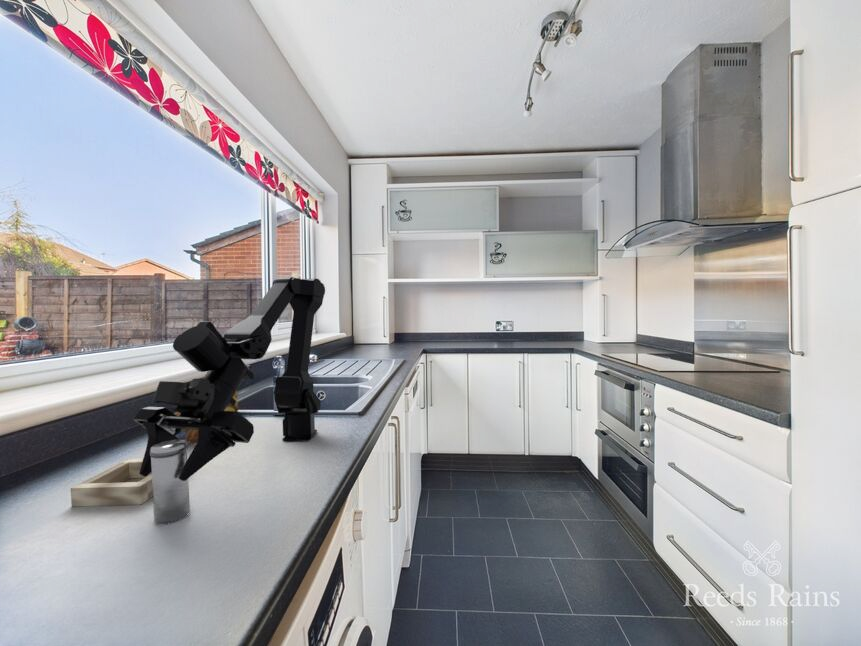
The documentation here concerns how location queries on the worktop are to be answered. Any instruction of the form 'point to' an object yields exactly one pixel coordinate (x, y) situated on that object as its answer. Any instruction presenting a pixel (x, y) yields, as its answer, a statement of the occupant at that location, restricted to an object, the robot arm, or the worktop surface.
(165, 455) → the silver metal canister
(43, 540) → the worktop surface
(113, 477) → the collar
